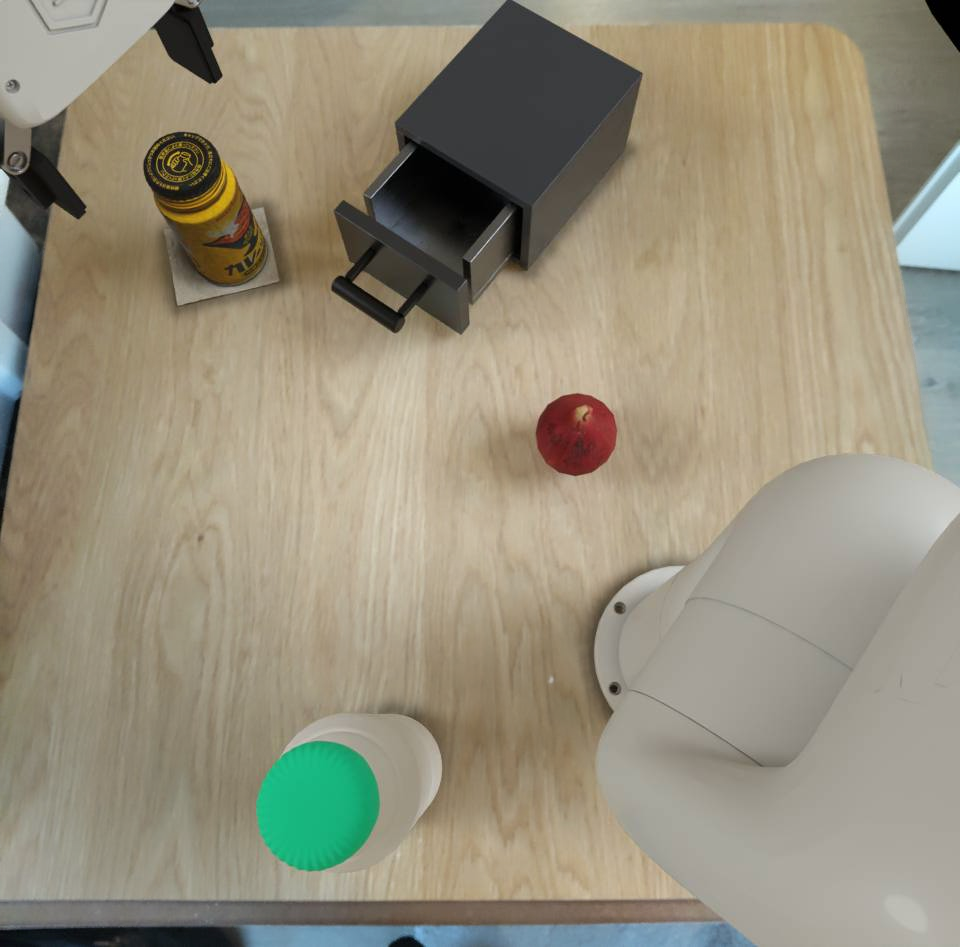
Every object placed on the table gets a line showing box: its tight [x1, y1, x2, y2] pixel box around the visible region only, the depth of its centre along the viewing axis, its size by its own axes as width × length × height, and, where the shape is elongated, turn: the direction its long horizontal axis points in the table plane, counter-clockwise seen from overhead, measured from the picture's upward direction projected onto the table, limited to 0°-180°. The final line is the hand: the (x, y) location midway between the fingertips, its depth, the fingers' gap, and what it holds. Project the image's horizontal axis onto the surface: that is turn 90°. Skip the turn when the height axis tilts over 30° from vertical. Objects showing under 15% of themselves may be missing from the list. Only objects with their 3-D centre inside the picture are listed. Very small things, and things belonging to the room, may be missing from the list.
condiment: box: [142, 131, 280, 307], centre depth 61 cm, size 7×8×12 cm
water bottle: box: [255, 712, 443, 874], centre depth 43 cm, size 7×7×25 cm
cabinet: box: [394, 0, 644, 272], centre depth 64 cm, size 15×13×9 cm
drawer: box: [330, 139, 523, 336], centre depth 62 cm, size 18×11×7 cm, turn 144°
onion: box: [535, 392, 618, 477], centre depth 57 cm, size 6×6×8 cm
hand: (131, 133), depth 40 cm, fingers open, 9 cm apart
